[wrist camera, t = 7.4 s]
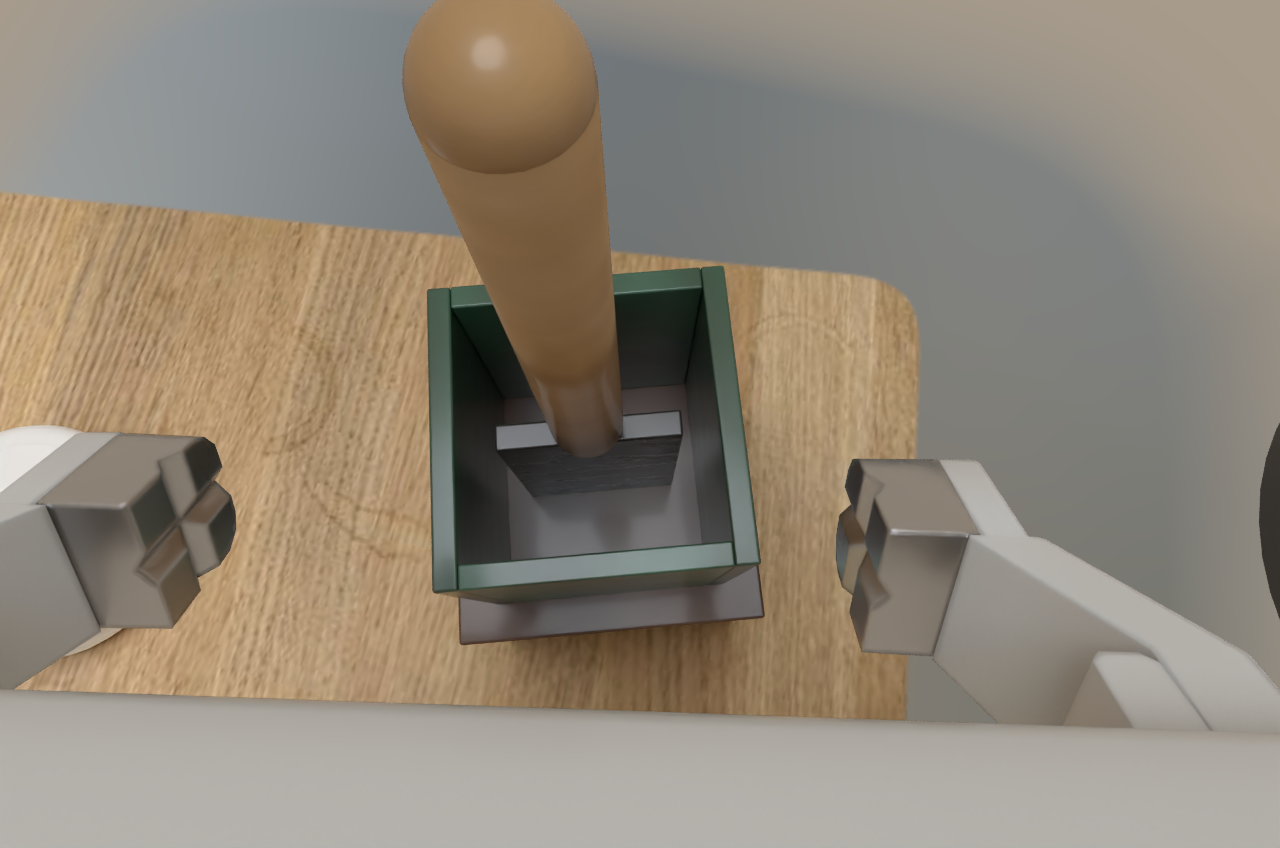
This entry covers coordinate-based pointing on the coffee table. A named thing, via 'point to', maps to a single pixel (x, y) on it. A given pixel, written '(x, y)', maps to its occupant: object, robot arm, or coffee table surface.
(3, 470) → the white round tub
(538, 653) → the coffee table surface
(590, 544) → the open box
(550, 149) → the spatula
